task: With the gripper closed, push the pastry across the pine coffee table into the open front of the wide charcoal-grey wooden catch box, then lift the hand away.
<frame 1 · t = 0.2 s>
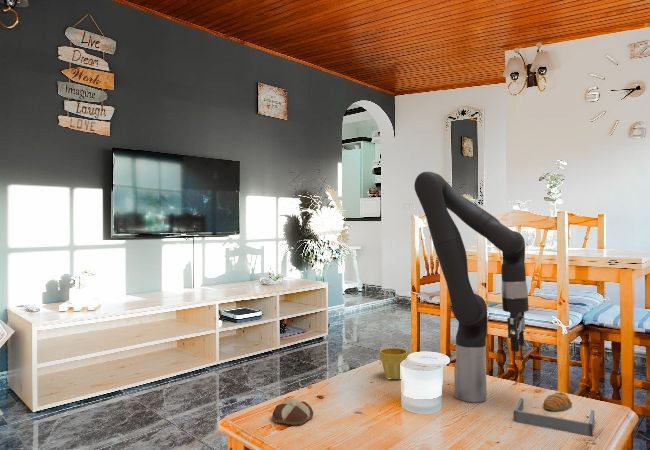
hand: (517, 348, 150), 18 cm above the table, tool pointing down, fingers open, 8 cm apart
pastry: (557, 408, 148), on the table
catch box: (554, 420, 138), on the table
bread: (292, 420, 143), on the table
plant pot: (394, 378, 179), on the table
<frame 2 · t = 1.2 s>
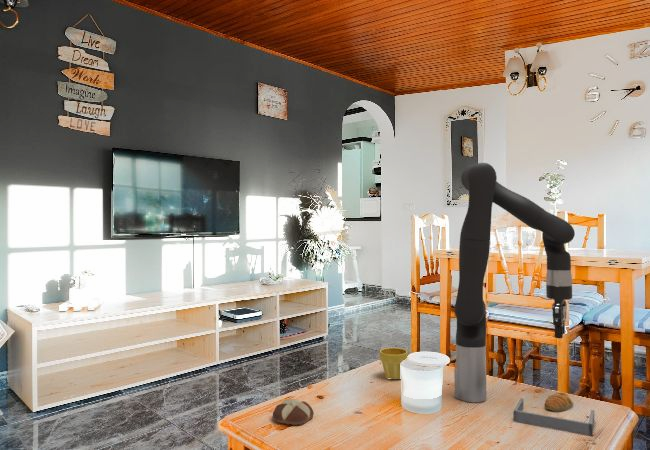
hand: (559, 335, 157), 20 cm above the table, tool pointing down, fingers open, 5 cm apart
nothing on the table moved.
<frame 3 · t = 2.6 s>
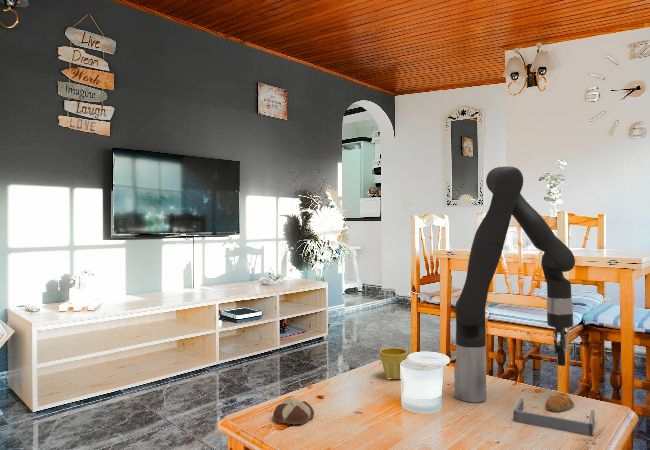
hand: (561, 365, 156), 10 cm above the table, tool pointing down, fingers closed
nothing on the table moved.
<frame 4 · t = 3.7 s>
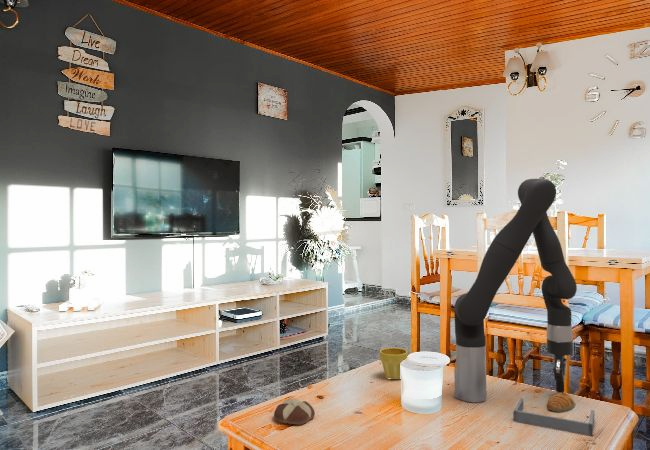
hand: (560, 391, 157), 2 cm above the table, tool pointing down, fingers closed
nothing on the table moved.
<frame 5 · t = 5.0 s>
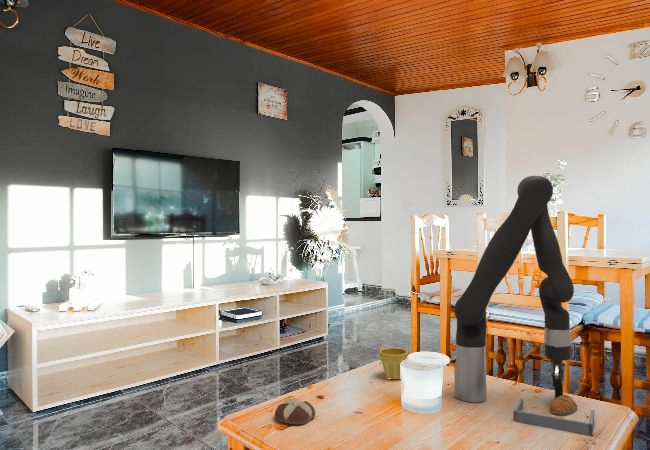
hand: (559, 398, 151), 2 cm above the table, tool pointing down, fingers closed
pastry: (563, 411, 145), on the table, touching gripper
everything else where it was.
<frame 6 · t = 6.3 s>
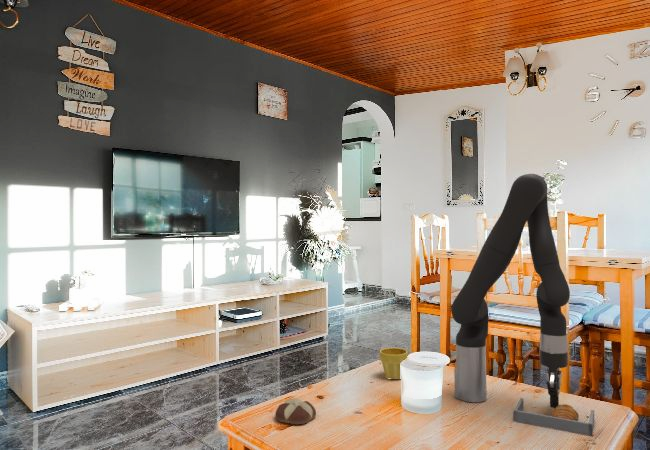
hand: (554, 407, 144), 2 cm above the table, tool pointing down, fingers closed
pastry: (565, 422, 138), on the table
everything else where it was.
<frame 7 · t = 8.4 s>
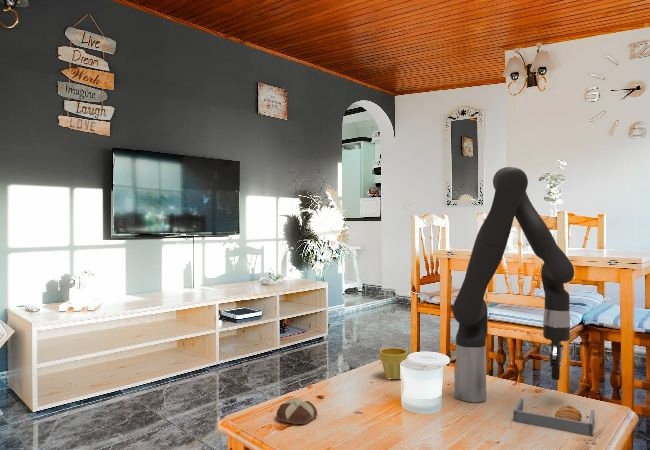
hand: (555, 378, 151), 7 cm above the table, tool pointing down, fingers closed
pastry: (568, 423, 137), on the table
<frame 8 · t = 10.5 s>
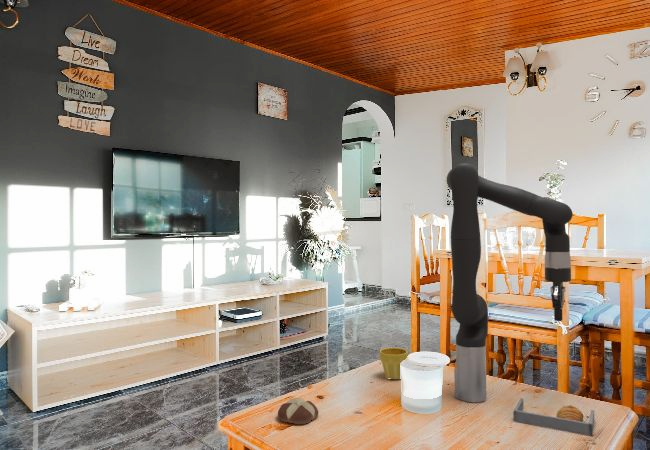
hand: (558, 320, 154), 25 cm above the table, tool pointing down, fingers closed
at the end: pastry inside the target area on the catch box (5.2 cm from its centre), point -0.5 cm above the catch box's base; pastry moved 11.5 cm from its start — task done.
